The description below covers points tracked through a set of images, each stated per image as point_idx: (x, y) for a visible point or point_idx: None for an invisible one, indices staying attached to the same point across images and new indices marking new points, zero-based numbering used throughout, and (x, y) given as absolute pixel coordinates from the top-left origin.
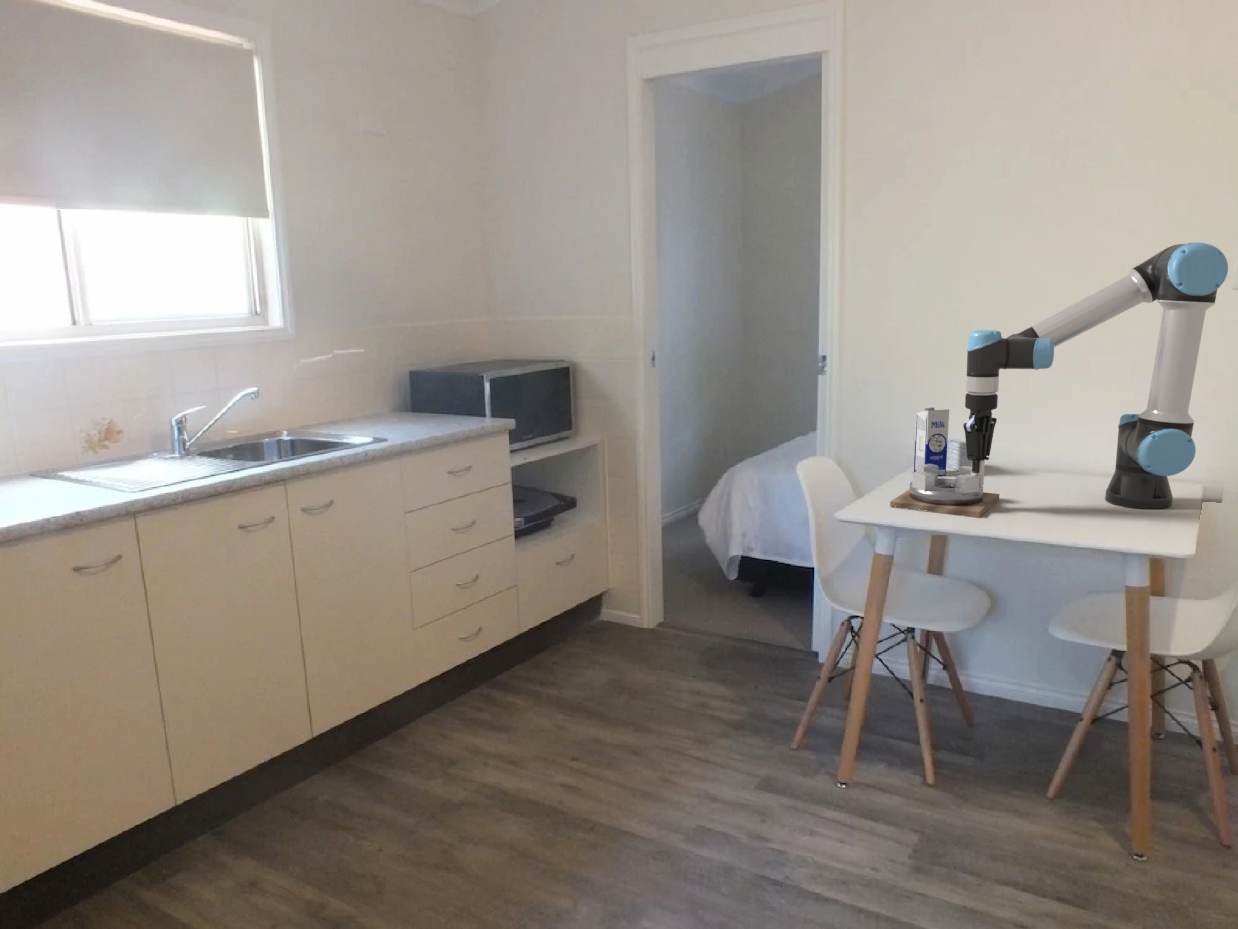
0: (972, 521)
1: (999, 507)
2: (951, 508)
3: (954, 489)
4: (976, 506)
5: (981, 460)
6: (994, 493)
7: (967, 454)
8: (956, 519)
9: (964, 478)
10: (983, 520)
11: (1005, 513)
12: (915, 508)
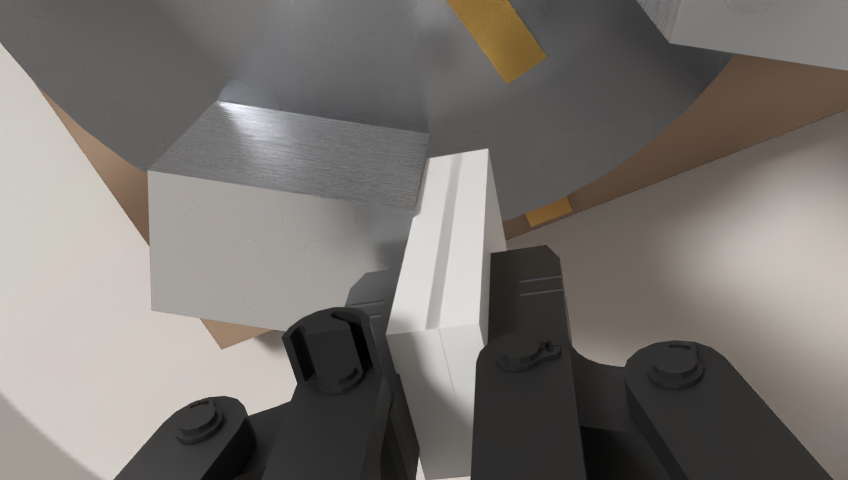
0: (122, 351)
1: (648, 224)
2: (95, 167)
3: (270, 38)
4: None
5: (460, 451)
6: None
7: (131, 472)
8: (55, 262)
9: (154, 304)
10: (209, 375)
11: None
12: None
